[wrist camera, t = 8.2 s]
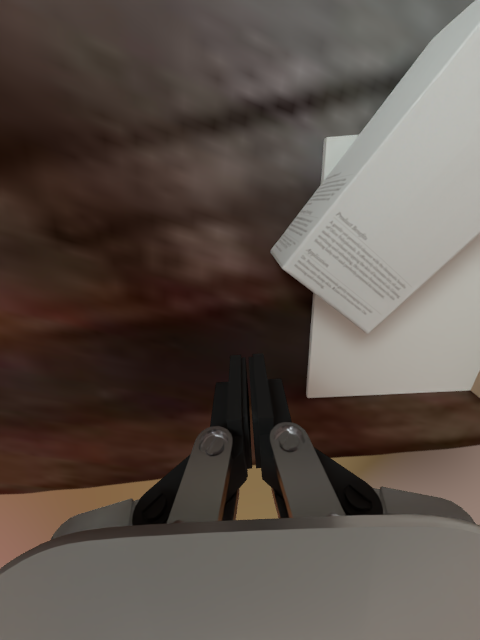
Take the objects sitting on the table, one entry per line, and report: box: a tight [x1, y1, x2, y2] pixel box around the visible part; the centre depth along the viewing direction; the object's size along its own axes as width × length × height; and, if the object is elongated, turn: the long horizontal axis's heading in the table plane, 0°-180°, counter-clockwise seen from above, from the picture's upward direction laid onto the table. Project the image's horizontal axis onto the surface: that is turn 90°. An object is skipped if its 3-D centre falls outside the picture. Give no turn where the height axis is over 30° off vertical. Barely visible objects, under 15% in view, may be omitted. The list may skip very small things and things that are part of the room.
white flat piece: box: [306, 135, 480, 398], centre depth 20 cm, size 24×19×3 cm
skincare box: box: [271, 0, 480, 334], centre depth 15 cm, size 8×7×16 cm
